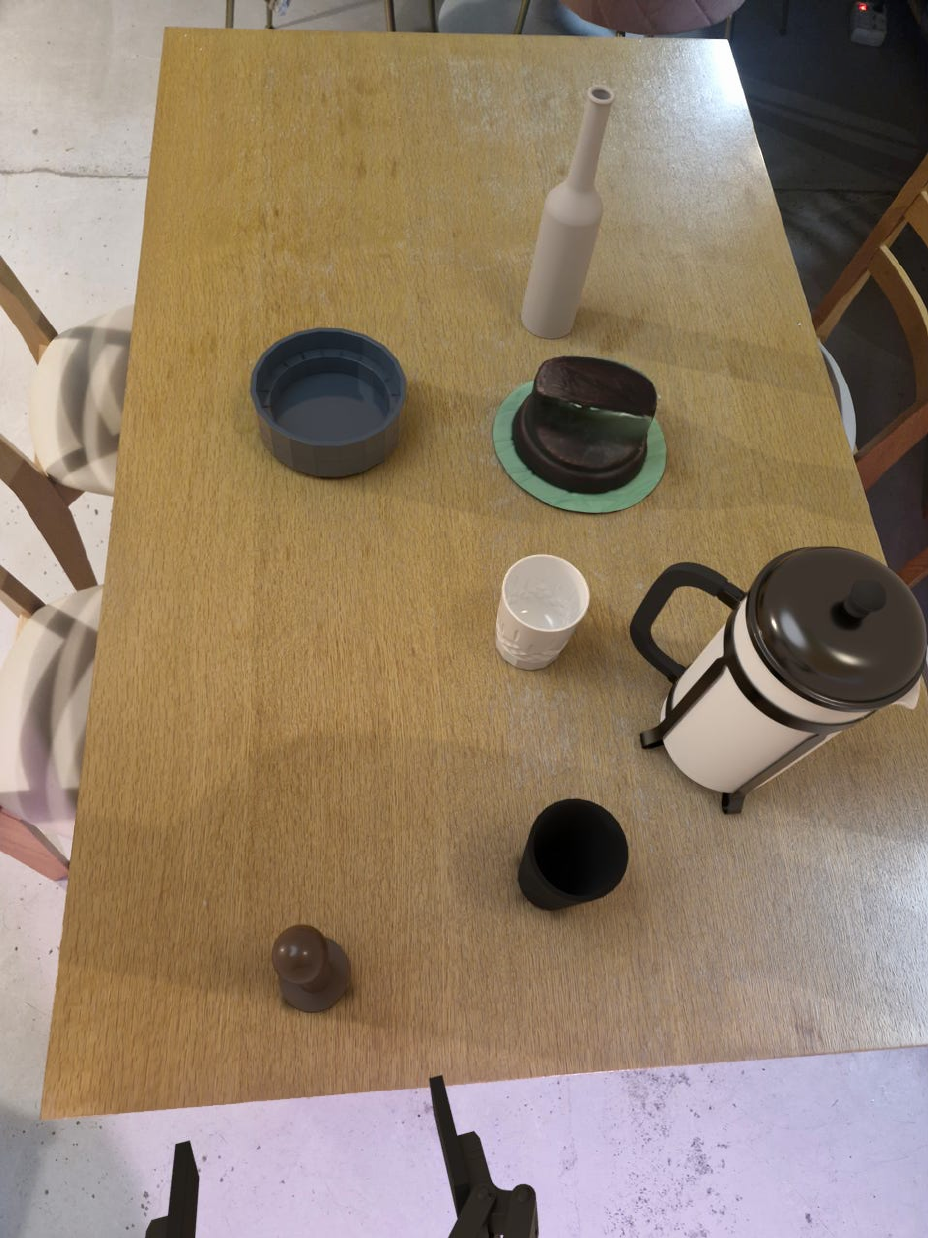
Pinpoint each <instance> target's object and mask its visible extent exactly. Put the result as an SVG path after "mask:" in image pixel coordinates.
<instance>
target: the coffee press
mask: <svg viewBox="0 0 928 1238" xmlns="http://www.w3.org/2000/svg"><path fill="white" fill-rule="evenodd" d="M683 587H691V588H695V589H699V590H701V591H703V592H704V593H707V594H708V595H710V596H712V597H714V598H715V597H716V598H717V599H718V600H719V602H721V603H722V604H724V605H725V606H727V607H728V608H729V609H730V610H731V611H730V613H729V614H728V617H727V619H726V622H725V623H724V624H723V625H722V627H720V629H719V630H718V632H717V633H716V634H715V635H714V637H712V639H711V640H710V642H709V643H708V644H707V645H706V647H705V648H703V650H702V651H701V653H700V654H699V655H698V656H697V657H696V659H695V660H694V661H693V662H691V663H689V664H688V665H687V666H685V665H683V664H682V663H679V662H677V661H676V660H674V658H672V657H671V656H669V655H668V654H667V653H666V652H665V651H663V649H661V648H660V647H659V645H657V643H656V641H655V640H654V637H653V635H652V627H653V624H654V623H655V621H656V619H658V616H659V615H660V613H661V611H662V610H663V609H664V607H665V605H666V604H667V602H668V601H669V599H670V598H671V597H672V595H673V593H674V592H675V590H677V589H680V588H683ZM629 636H630V640H631V642H632V645H633V646H634V648H635V650H636V651H637V652H638V654H640V656H641V657H642V658H643V660H644V661H646V662H647V663H648V664H650V665H651V667H653V668H654V669H655V670H656V671H657V672H659V673H660V674H661V675H662V676H664V677H665V678H666V680H667V681H668V682H669V683H671V684H672V685H671V686H670V689H669V691H668V693H667V696H666V698H665V700H664V702H663V704H662V708H661V710H660V711H661V712H660V720H659V721H660V723H659V724H658V725H656V726H654V727H652V728H650V729H647V730H645V731H642V732H640V733H639V734H638V735H639V742H640V746H641V749H642V750H652V749H656V748H660V747H665V749H666V751H667V753H668V755H669V757H670V758H671V760H672V761H673V763H674V764H675V766H676V767H677V768H678V769H679V770H680V771H681V772H682V773H683V774H684V775H686V776H687V777H688V778H689V779H690V780H692V781H693V782H695V783H697V784H699V785H700V786H703V787H705V788H707V789H710V790H712V791H716V792H719V793H721V801H720V807H721V811H722V813H723V814H724V815H726V816H727V815H740V814H742V811H743V808H744V803H745V799H746V796H747V795H749V793H750V792H752V791H753V790H756V789H758V788H760V787H761V786H763V785H766V784H767V783H768V782H770V781H771V780H774V779H775V778H776V777H778V776H779V775H781V774H782V773H784V772H785V771H787V770H788V769H789V768H790V767H792V766H793V765H795V764H796V763H798V762H799V761H801V760H802V759H804V758H805V757H806V756H808V755H809V754H811V753H812V752H814V751H815V750H817V749H819V748H820V747H821V746H823V745H824V744H826V743H827V742H828V741H830V740H832V739H833V738H834V737H836V736H837V735H839V734H840V733H841V732H843V731H846V730H849V729H851V728H854V727H855V726H857V725H859V724H861V723H862V722H863V721H866V719H868V718H869V717H871V716H872V715H874V714H875V713H876V712H877V711H879V710H881V709H884V708H886V707H888V706H894V705H899V706H902V707H903V708H905V709H908V710H914V709H915V708H916V707H917V705H918V701H919V696H920V690H921V679H922V678H921V677H922V675H923V672H924V669H925V665H926V662H927V656H928V640H927V639H928V633H927V625H926V620H925V616H924V613H923V611H922V608H921V605H920V604H919V601H918V600H917V598H916V596H915V594H914V593H913V591H912V590H911V588H909V586H908V585H907V583H906V582H905V581H904V580H903V579H902V578H901V577H900V576H899V575H898V574H897V573H896V572H895V571H894V570H892V569H891V568H889V566H887V565H886V564H885V563H883V562H881V561H879V560H877V559H876V558H874V557H872V556H870V555H868V554H865V553H864V552H861V551H858V550H854V549H851V548H848V547H842V546H835V545H834V546H833V545H820V546H803V547H798V548H794V549H791V550H787V551H785V552H783V553H780V554H779V555H777V556H775V557H774V558H772V559H771V560H770V561H769V562H767V563H766V565H764V566H763V567H762V568H761V569H760V571H759V572H758V573H757V574H756V576H755V578H754V579H753V580H752V582H751V585H750V587H749V589H748V590H746V591H744V590H742V589H741V588H740V587H739V586H737V585H736V584H734V583H733V582H730V581H729V578H727V577H726V576H724V575H723V574H721V573H720V572H719V571H717V570H715V569H713V568H712V567H709V566H707V565H705V564H701V563H698V562H694V561H680V562H675V563H673V564H671V565H670V566H668V567H667V568H665V569H664V570H663V571H662V572H661V573H660V574H659V576H658V577H657V578H656V579H655V580H654V581H653V583H652V584H651V586H650V587H649V589H648V591H647V592H646V594H645V595H644V597H643V599H642V600H641V602H640V604H639V605H638V607H637V608H636V610H635V613H634V614H633V616H632V618H631V621H630V624H629Z"/></svg>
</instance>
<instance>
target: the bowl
mask: <svg viewBox="0 0 928 1238" xmlns="http://www.w3.org/2000/svg"><path fill="white" fill-rule="evenodd" d="M249 386H250V387H249V394H250V395H249V396H250V399H251V404H252V411H253V415H254V421H255V422H254V423H255V425H256V428H257V429H256V430H257V432H258V435H259V437H260V441H261V442H262V444H263V445H264V446H265V447H266V449H267V450H268V451H269V452H270V453H271V455H273V457H274V458H275V459H276V460H277V461H280V462H281V463H283V464H284V465H286V466H288V467H289V468H290V469H292V470H295V471H298V472H301V473H304V474H308V475H312V476H315V477H333V478H334V477H336V478H337V477H346V476H350V475H355V474H358V473H359V474H360V473H362V472H366V471H368V470H369V469H371V468H373V467H374V466H376V465H379V464H380V463H382V462H383V461H385V460H386V459H387V458H388V457H389V456H390V454H391V453H392V452H393V451H394V450H395V449H396V448H397V447H398V445H399V443H400V441H401V438H402V436H403V433H404V431H405V427H406V413H407V412H406V410H407V377H406V374H405V372H404V370H403V368H402V365H401V363H400V360H399V359H398V358H397V357H396V356H395V355H394V354H393V353H392V352H391V350H389V349H388V347H387V346H386V345H384V344H383V343H381V342H379V341H378V340H376V339H374V338H372V337H370V336H369V335H367V334H365V333H362V332H358V331H354V330H351V329H347V328H343V327H322V326H321V327H314V328H308V329H303V330H298V331H295V332H293V333H290V334H289V335H286V336H284V337H282V338H280V339H278V340H276V341H275V342H274V343H273V344H272V345H270V346H269V347H267V349H266V350H265V351H264V352H263V353H261V354H260V355H259V358H258V360H257V362H256V364H255V365H254V367H253V369H252V371H251V375H250V384H249Z"/></svg>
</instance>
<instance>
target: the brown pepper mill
mask: <svg viewBox="0 0 928 1238" xmlns="http://www.w3.org/2000/svg"><path fill="white" fill-rule="evenodd" d="M270 956H271V957H270V958H271V964H272V968H273V970H274V972H275V973H276V974H277V976H278V985H279V986H278V987H279V989H280V992H281V994H282V996H283V997H284V999H285V1000H286V1002H287V1003H289V1005H290V1006H292V1007H293V1008H295V1009H296V1010H299V1011H301V1012H303V1013H308V1014H318V1013H322V1012H326V1011H327V1010H330V1009H331V1008H333V1007H334V1006H336V1005H337V1004H338V1003H339V1002H340V1001H341V1000H342V998H343V996H344V995H346V994H345V993H346V992H347V990H348V987H349V985H350V979H351V965H350V961H349V958H348V956H347V954H346V952H345V951H344V949H343V948H342V946H341V945H339V943H337V942H336V941H335V940H334V939H331V938H329V937H325V935H324V934H323V933H322V931H320V929H318V928H316V927H315V926H313V925H311V924H306V923H301V924H300V923H298V924H294V925H291V926H288V927H286V928H285V929H284V930H282V932H280V933H279V934H278V936H277V937H276V939H275V940H274V943H273V945H272V949H271V955H270Z"/></svg>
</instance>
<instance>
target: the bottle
mask: <svg viewBox="0 0 928 1238" xmlns="http://www.w3.org/2000/svg"><path fill="white" fill-rule="evenodd" d="M586 95H587V99H586V103H585V106H584V112H583V116H582V120H581V125H580V129H579V134H578V137H577V142H576V146H575V149H574V153H573V157H572V160H571V163H570V167H569V170H568V173H567V177H566V179H565V180H564V181H562V182H560V183H558V184H557V185H555V186H554V187H553V188H552V189H551V190H550V192H548V193H547V195H546V198H545V200H544V205H543V210H542V213H541V219H540V223H539V228H538V232H537V237H536V242H535V247H534V250H533V251H534V252H533V256H532V261H531V265H530V270H529V273H528V279H527V283H526V289H525V293H524V297H523V304H522V308H521V312H520V319H521V322H522V325H523V326H524V328H525V329H526V330H527V331H528V332H529V333H531V334H532V335H534V336H537V337H538V338H542V339H546V340H547V339H548V340H552V339H553V340H557V339H560V338H563V337H565V336H566V335H568V334H569V333H570V332H571V331H572V329H573V327H574V323H575V320H576V316H577V313H578V310H579V306H580V303H581V298H582V295H583V291H584V287H585V284H586V281H587V276H588V272H589V267H590V264H591V261H592V257H593V254H594V250H595V246H596V242H597V238H598V235H599V230H600V227H601V223H602V218H603V216H604V203H603V200H602V197H601V196H600V194H599V193H598V191H597V189H596V188H595V187H596V186H595V180H596V176H597V170H598V166H599V165H598V164H599V159H600V155H601V150H602V146H603V141H604V138H605V133H606V130H607V125H608V121H609V117H610V114H611V109H612V105H613V104H614V103H615V101H616V99H617V96H616V95H617V94H616V92H615V91H614V90H613V89H612V88H611V87H609V86H608V85H603V84H595V85H592V86H590V87H589V88H588V89H587V92H586Z"/></svg>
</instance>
